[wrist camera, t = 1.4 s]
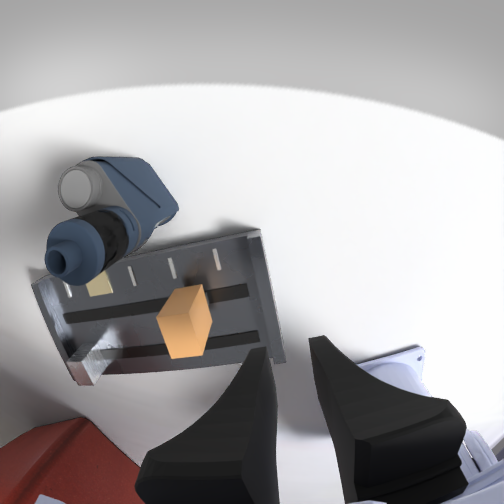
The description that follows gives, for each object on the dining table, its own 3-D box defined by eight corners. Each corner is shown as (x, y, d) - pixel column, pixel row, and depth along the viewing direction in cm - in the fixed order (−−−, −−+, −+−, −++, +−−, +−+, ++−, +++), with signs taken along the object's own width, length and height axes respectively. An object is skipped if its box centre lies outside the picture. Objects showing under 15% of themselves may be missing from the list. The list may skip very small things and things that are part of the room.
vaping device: (157, 235, 21) (58, 311, 9) (115, 174, 20) (-14, 192, 8) (187, 213, 20) (101, 273, 9) (142, 150, 19) (21, 142, 8)
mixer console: (283, 346, 23) (287, 378, 19) (83, 367, 24) (64, 393, 20) (260, 229, 20) (260, 243, 17) (45, 275, 22) (16, 293, 18)
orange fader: (214, 314, 21) (202, 355, 16) (189, 318, 21) (171, 358, 16) (204, 279, 20) (188, 312, 15) (178, 283, 20) (156, 317, 15)
